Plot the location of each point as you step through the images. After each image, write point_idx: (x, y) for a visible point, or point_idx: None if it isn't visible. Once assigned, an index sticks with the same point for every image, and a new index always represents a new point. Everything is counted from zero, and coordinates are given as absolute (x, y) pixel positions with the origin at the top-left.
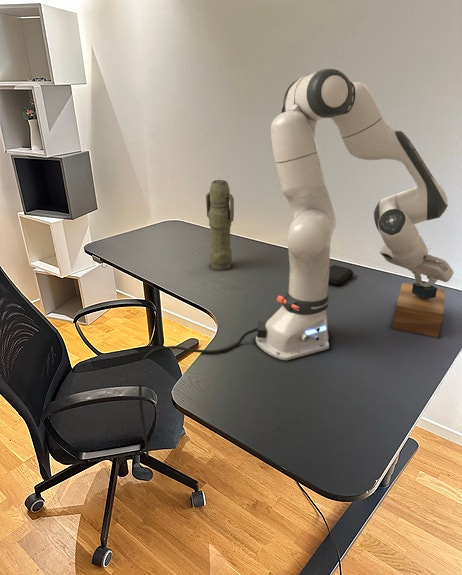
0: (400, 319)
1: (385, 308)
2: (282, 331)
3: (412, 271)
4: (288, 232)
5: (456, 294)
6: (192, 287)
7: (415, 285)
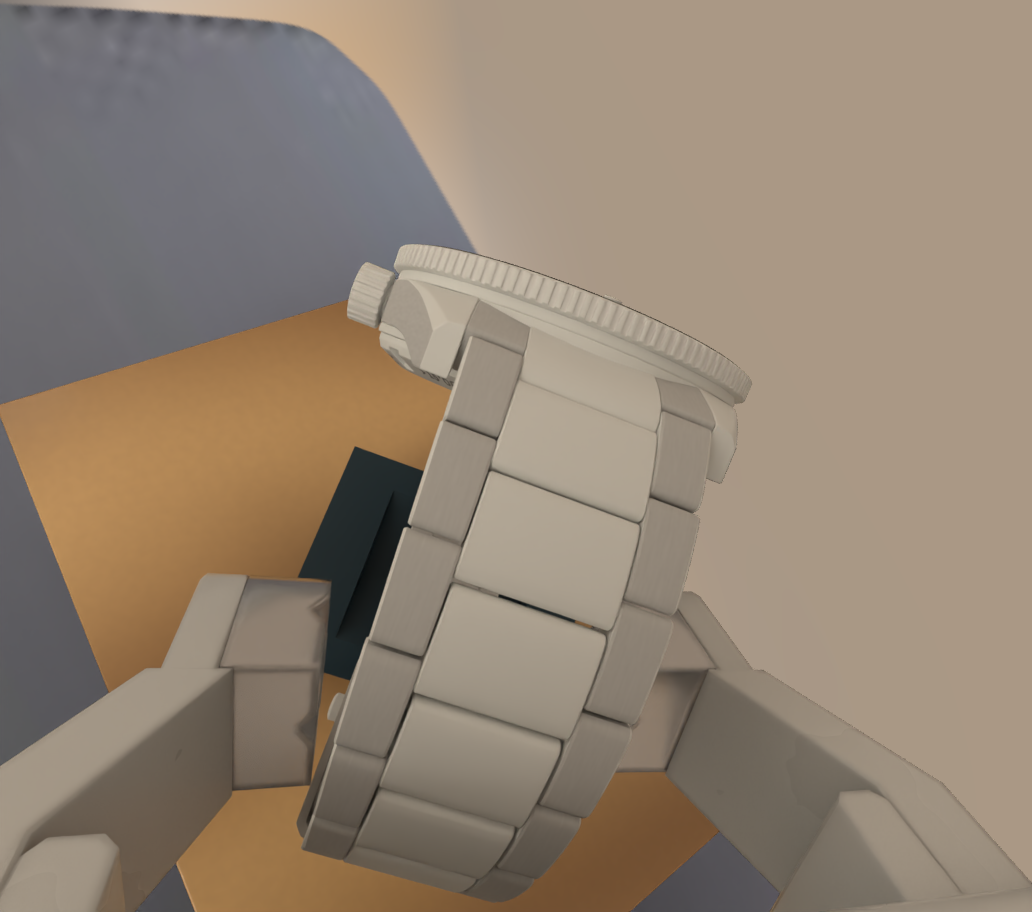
0: None
1: (40, 682)
2: None
3: (205, 821)
4: None
5: (373, 83)
6: None
7: (324, 672)
